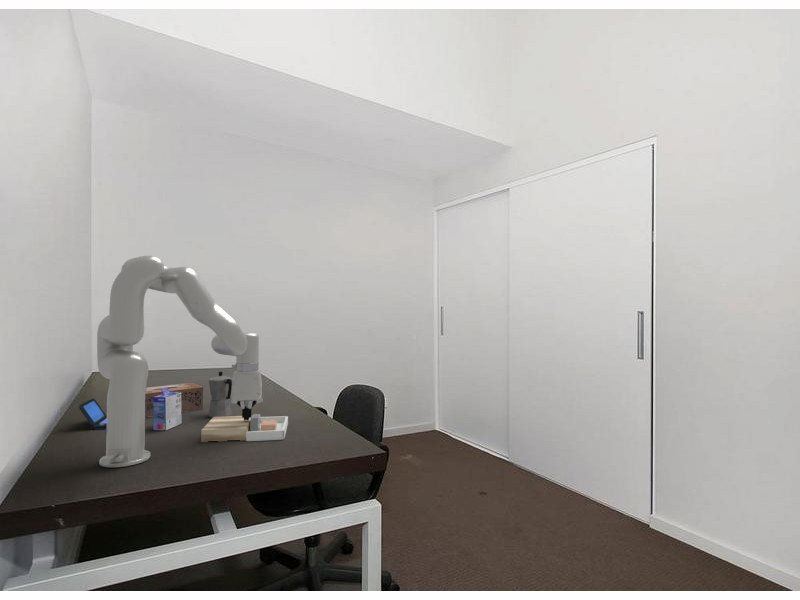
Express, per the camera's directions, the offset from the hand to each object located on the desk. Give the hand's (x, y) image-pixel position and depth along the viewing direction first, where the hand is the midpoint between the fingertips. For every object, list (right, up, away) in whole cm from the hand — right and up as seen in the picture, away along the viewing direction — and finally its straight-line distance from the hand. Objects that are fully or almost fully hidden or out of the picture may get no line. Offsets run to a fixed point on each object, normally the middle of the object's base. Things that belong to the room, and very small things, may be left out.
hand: (246, 419), depth 159 cm
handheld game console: (-57, -5, +10) cm, 58 cm away
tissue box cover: (-46, -6, +32) cm, 56 cm away
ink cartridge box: (-32, -5, +7) cm, 33 cm away
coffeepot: (-19, -5, +25) cm, 32 cm away
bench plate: (-6, -5, -1) cm, 8 cm away
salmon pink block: (+8, -2, +1) cm, 8 cm away
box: (+7, -5, +1) cm, 8 cm away
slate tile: (+2, -2, 0) cm, 2 cm away
